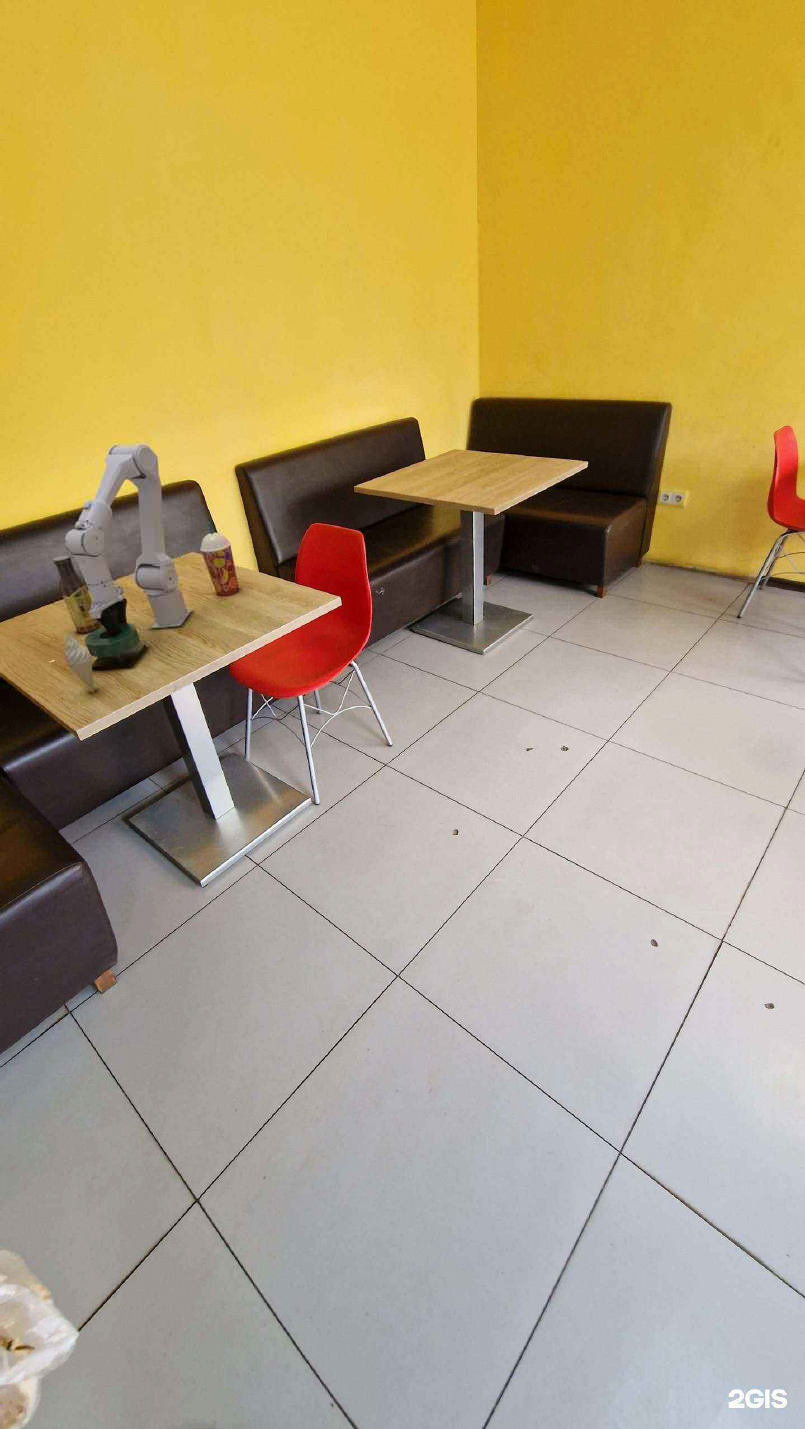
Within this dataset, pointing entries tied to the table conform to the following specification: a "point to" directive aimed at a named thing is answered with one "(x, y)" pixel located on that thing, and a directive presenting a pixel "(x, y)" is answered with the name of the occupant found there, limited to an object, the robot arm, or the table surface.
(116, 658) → the peg stand
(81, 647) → the ice cream cone
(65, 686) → the table surface
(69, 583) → the sauce bottle
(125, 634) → the ring
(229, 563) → the smoothie
